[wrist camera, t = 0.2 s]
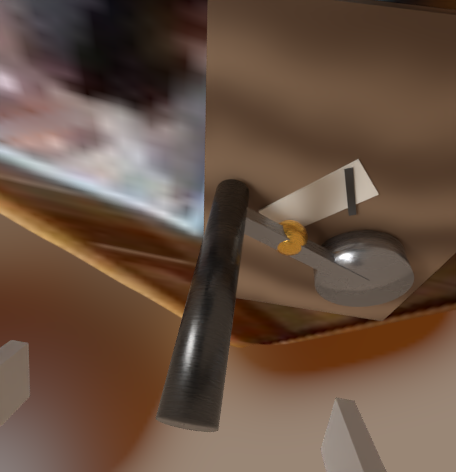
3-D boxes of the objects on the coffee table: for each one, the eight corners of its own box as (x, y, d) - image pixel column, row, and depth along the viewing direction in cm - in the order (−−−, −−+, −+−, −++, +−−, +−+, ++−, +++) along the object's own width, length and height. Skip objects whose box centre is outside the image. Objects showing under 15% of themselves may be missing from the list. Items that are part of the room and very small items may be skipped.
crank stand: (213, -19, 13) (206, -14, 12) (651, 33, 13) (690, 44, 11) (205, 281, 33) (202, 295, 31) (379, 308, 32) (383, 323, 31)
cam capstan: (425, 255, 22) (530, 497, 13) (354, 291, 27) (391, 486, 17) (244, 147, 17) (196, 404, 8) (197, 215, 22) (133, 424, 13)
